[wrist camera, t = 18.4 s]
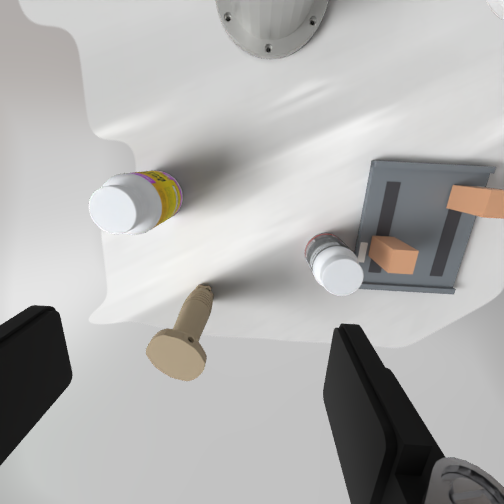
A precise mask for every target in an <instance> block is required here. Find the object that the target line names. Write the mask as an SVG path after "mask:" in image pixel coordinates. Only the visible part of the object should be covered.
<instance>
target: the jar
mask: <svg viewBox="0 0 504 504" xmlns="http://www.w3.org/2000/svg"><path fill="white" fill-rule="evenodd" d="M486 2H487V4H488V6H489V7H490V9H491V10H492V11H493V12H494V13H495V14H496V15H497V16H498V17H499V18H501V19H503V20H504V0H486Z"/></svg>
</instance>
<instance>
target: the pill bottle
mask: <svg viewBox="0 0 504 504" xmlns="http://www.w3.org/2000/svg"><path fill="white" fill-rule="evenodd" d="M305 258H306V260H307V263H308V265H309V267H310V269H311V271H312V273H313V276H314V277H315V279H316V281H317V282H318V283H319V284H320V285H321V286H323V287H325V289H326V290H327V291H328V292H329V293H331V294H333V295H336V296H346V295H350V294H352V293H354V292H355V291H356V290H357V289H359V287H360V286H361V284H362V282H363V278H364V274H363V270H362V268H361V266H360V265H359V261H358V258H357V257H356V255H355V254H354V253H353V251H351V250H350V249H349V248H348V247H347V246H346V245H345V244H344V243H343V242H342V241H341V240H340V239H339V238H338V237H336V236H335V235H332V234H328V233H323V234H319V235H316V236H314V237H313V238H312V239H311V240H310V241H309V242H308V244H307V245H306V248H305Z"/></svg>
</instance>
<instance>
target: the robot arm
mask: <svg viewBox="0 0 504 504" xmlns="http://www.w3.org/2000/svg"><path fill="white" fill-rule="evenodd" d="M328 1H329V0H216V5H217V9H218V13H219V16H220V19H221V22H222V24H223V26H224V28H225V30H226V32H227V34H228V35H229V36H230V38H231V39H232V40H233V42H234V43H235V44H236V45H237V46H239V47H240V48H241V49H242V50H243V51H245V52H247V53H248V54H250V55H253V56H255V57H258V58H263V59H277V58H282V57H285V56H288V55H291V54H292V53H294V52H296V51H297V50H299V49H300V48H301V47H302V46H304V45H305V44H306V43H307V42H308V41H309V40H310V38H311V37H312V36H313V35H314V33H315V32H316V30H317V28H318V27H319V25H320V23H321V21H322V19H323V16H324V14H325V11H326V8H327V4H328ZM228 18H229V19H231V20H230V21H228V22H227V19H228ZM311 22H313V23H314V25H313V26H312V25H310V23H311ZM267 49H270V50H271V52H270V53H268V52H267V51H266V50H267ZM71 380H72V370H71V365H70V360H69V355H68V350H67V346H66V341H65V336H64V332H63V327H62V323H61V318H60V314H59V312H57V311H56V310H55V308H54V307H51V306H37V305H34V306H30V307H28V308H27V309H25V310H24V311H22V312H20V313H19V314H17V315H16V316H14V317H13V318H11V319H9V320H8V321H6V322H5V323H3V324H2V325H0V465H1V464H2V463H3V462H4V461H5V460H6V458H7V457H8V456H9V455H10V454H11V452H12V451H13V450H14V449H15V448H16V447H17V445H18V444H19V443H20V442H21V440H23V438H24V437H25V436H26V435H27V434H28V433H29V431H30V430H31V429H32V428H33V427H34V426H35V424H36V423H37V422H38V421H39V420H40V418H41V417H42V416H43V415H44V414H45V413H46V411H47V410H48V409H49V408H50V406H52V404H53V403H54V402H55V401H56V400H57V399H58V397H59V396H60V395H61V394H62V393H63V392H64V390H65V389H66V388H67V387H68V386H69V384H70V382H71ZM323 398H324V403H325V407H326V411H327V415H328V418H329V422H330V426H331V430H332V434H333V437H334V441H335V445H336V448H337V453H338V456H339V460H340V464H341V468H342V472H343V475H344V479H345V483H346V487H347V490H348V494H349V498H350V502H351V504H504V487H503V486H502V485H501V484H500V483H499V482H498V481H497V480H495V479H494V478H493V477H492V476H491V475H489V474H488V473H487V472H485V471H484V470H482V469H480V468H479V467H478V466H476V465H473V464H471V463H469V462H467V461H465V460H462V459H458V458H454V457H450V458H449V457H448V458H446V457H445V456H444V454H443V453H442V451H441V449H440V448H439V446H438V445H437V443H436V442H435V440H434V438H433V437H432V435H431V434H430V432H429V430H428V429H427V427H426V425H425V424H424V422H423V421H422V419H421V417H420V416H419V414H418V413H417V411H416V409H415V408H414V406H413V405H412V403H411V401H410V400H409V398H408V397H407V395H406V393H405V392H404V390H403V388H402V387H401V385H400V384H399V382H398V381H397V379H396V377H395V376H394V374H393V373H392V372H391V370H390V369H388V368H385V366H384V365H383V363H382V361H381V360H380V358H379V356H378V355H377V353H376V351H375V350H374V348H373V346H372V345H371V343H370V341H369V340H368V338H367V336H366V335H365V333H364V331H363V330H362V328H361V327H360V325H356V324H341V325H340V327H339V328H335V329H334V332H333V338H332V343H331V350H330V355H329V361H328V366H327V372H326V378H325V383H324V390H323Z"/></svg>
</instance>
